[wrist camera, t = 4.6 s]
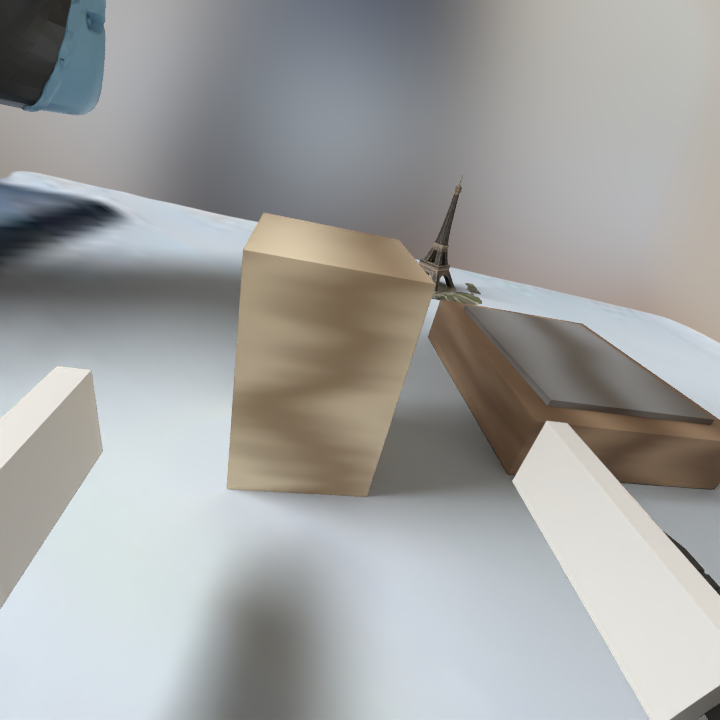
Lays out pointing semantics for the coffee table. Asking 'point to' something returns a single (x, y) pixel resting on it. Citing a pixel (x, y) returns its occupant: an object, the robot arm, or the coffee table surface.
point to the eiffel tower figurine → (446, 263)
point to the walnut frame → (573, 396)
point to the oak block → (320, 355)
